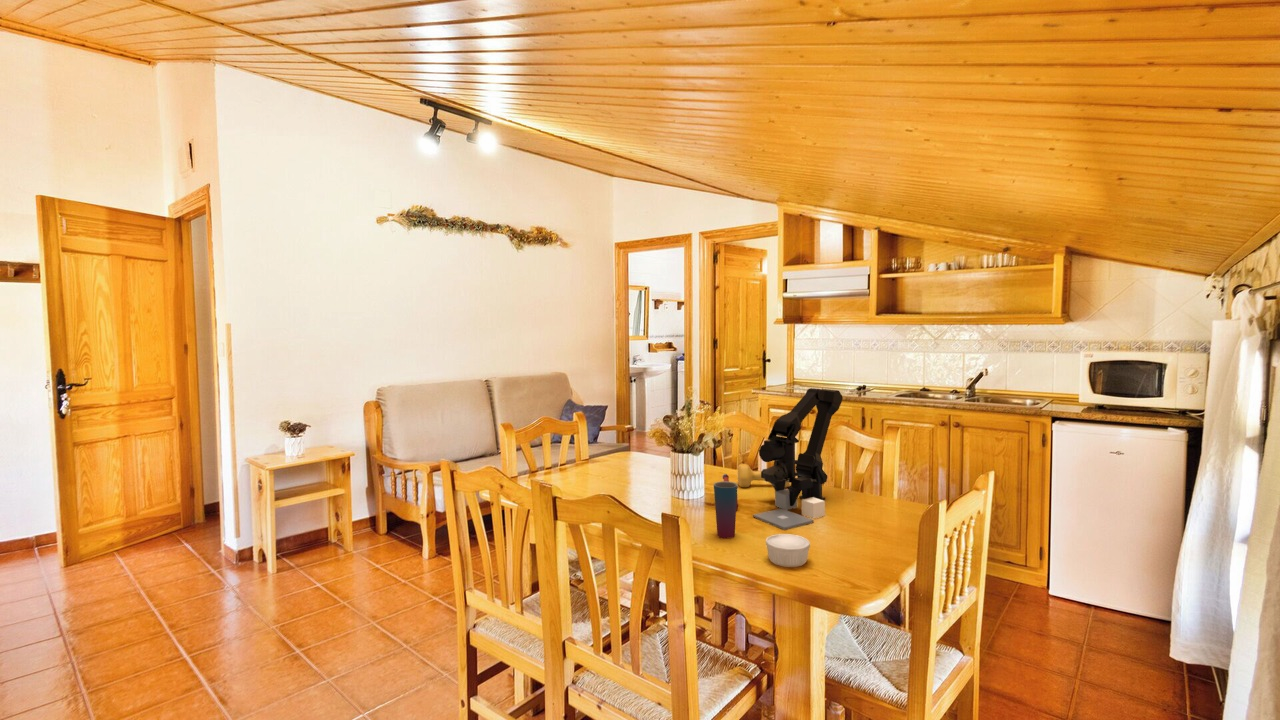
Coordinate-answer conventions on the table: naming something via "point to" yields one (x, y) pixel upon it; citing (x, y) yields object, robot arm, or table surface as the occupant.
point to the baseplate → (783, 519)
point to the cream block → (813, 507)
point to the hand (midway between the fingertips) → (786, 503)
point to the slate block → (783, 500)
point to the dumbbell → (750, 476)
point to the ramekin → (787, 550)
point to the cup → (725, 508)
